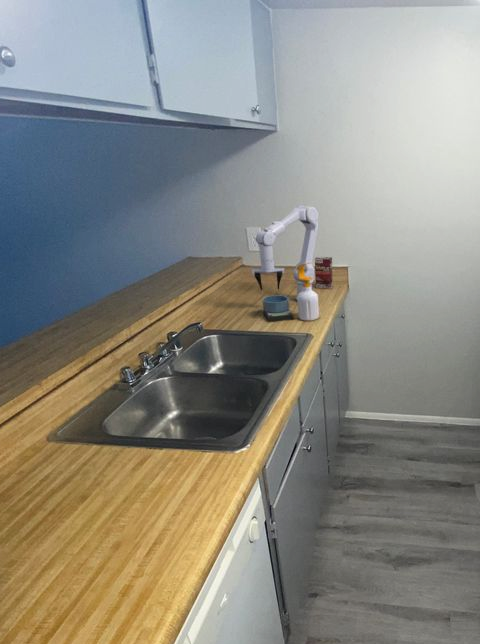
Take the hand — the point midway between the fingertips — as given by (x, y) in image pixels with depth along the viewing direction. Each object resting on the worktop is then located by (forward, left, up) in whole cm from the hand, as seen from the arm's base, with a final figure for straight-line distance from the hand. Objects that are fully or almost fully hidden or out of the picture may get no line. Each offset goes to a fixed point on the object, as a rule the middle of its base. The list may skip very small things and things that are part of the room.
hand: (270, 289), depth 218 cm
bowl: (+9, +1, -7) cm, 12 cm away
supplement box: (-29, +34, -10) cm, 46 cm away
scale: (+11, +1, -10) cm, 14 cm away
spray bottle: (+18, +13, -10) cm, 24 cm away
